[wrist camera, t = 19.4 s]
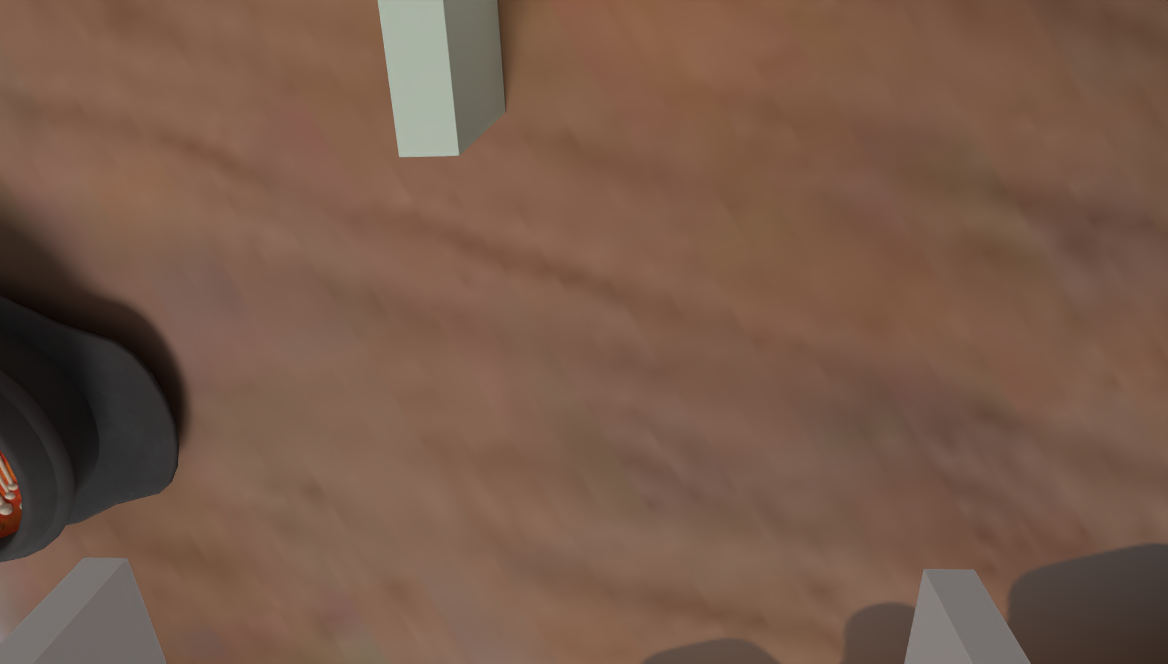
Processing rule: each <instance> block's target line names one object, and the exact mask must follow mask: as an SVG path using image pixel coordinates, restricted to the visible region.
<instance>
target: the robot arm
mask: <svg viewBox="0 0 1168 664" xmlns="http://www.w3.org/2000/svg"><path fill="white" fill-rule="evenodd" d="M0 664H167V663H166V660H165V658H164V655H163V652H162V650H161V647H160V644H159V642H158V639H157V636H156V634H155V631H154V629H153V626H152V623H151V621H150V618H149V615H148V613H147V610H146V607H145V605H144V602H143V599H142V597H141V594H140V591H139V589H138V586H137V583H136V581H135V578H134V575H133V573H132V570H131V567H130V565H129V562H128V559H127V558H83V559H82V560H81V561H80V562H79V563H78V564H77V565H76V566H75V567H74V568H73V569H72V570H71V571H70V572H69V574H68V575H67V576H66V577H65V578H64V579H63V580H62V581H61V582H60V583H59V584H58V585H57V586H56V587H55V588H54V589H53V590H52V591H51V592H50V593H49V594H48V595H47V596H46V597H45V598H44V599H43V600H42V601H41V602H40V603H39V604H38V605H37V606H36V607H35V609H34V610H33V611H32V612H31V613H30V614H29V615H28V616H27V617H26V618H25V619H24V620H23V621H22V622H21V623H20V624H19V625H18V626H17V627H16V628H15V629H14V630H13V631H12V632H11V633H10V634H9V635H8V636H7V637H6V638H5V639H4V640H3V641H2V643H1V644H0ZM904 664H1031V663H1030V662H1029V660H1028V659H1027V657H1026V655H1025V654H1024V652H1023V650H1022V649H1021V647H1020V645H1019V644H1018V642H1017V640H1016V639H1015V637H1014V635H1013V634H1012V632H1011V630H1010V629H1009V627H1008V625H1007V624H1006V622H1005V620H1004V619H1003V617H1002V615H1001V614H1000V612H999V610H998V609H997V607H996V605H995V604H994V602H993V600H992V599H991V597H990V595H989V594H988V592H987V590H986V589H985V587H984V585H983V584H982V582H981V580H980V579H979V577H978V575H977V574H976V572H975V570H955V569H924V571H923V576H922V581H921V586H920V591H919V595H918V600H917V605H916V610H915V615H914V619H913V624H912V629H911V634H910V639H909V644H908V649H907V653H906V658H905V663H904Z"/></svg>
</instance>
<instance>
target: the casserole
mask: <svg viewBox="0 0 1168 664" xmlns="http://www.w3.org/2000/svg"><path fill="white" fill-rule="evenodd" d="M178 455H179V441H178V434H177V428H176V422H175V419H174V416H173V414H172V411H171V408H170V406H169V403H168V400H167V398H166V396H165V394H164V393H163V391H162V389H161V387H160V386H159V384H158V382H157V381H156V379H155V377H154V376H153V374H152V373H151V372H150V370H149V369H148V368H147V367H146V366H145V365H144V363H143V362H142V361H141V360H140V359H139V358H138V356H137V355H136V354H134V353H133V352H131V351H130V350H129V349H127V348H126V347H124V346H123V345H121V344H120V343H119V342H117V341H116V340H113V339H110V338H107V337H103V336H100V335H97V334H94V333H91V332H87V331H84V330H81V329H78V328H75V327H71V326H68V325H65V324H62V323H59V322H56V321H54V320H52V319H50V318H48V317H46V316H44V315H42V314H40V313H37V312H35V311H33V310H31V309H29V308H27V307H25V306H23V305H20V304H18V303H16V302H14V301H12V300H10V299H8V298H5V297H3V296H1V295H0V562H4V561H9V560H14V559H18V558H23V557H27V556H29V555H31V554H33V553H35V552H37V551H39V550H41V549H44V548H45V547H46V546H47V545H49V544H50V543H51V542H52V541H53V540H55V539H56V538H57V537H58V536H59V535H60V534H61V532H62V530H63V529H64V527H65V526H66V525H70V524H74V523H79V522H81V521H83V520H85V519H88V518H90V517H92V516H94V515H96V514H98V513H100V512H102V511H104V510H106V509H108V508H110V507H112V506H114V505H116V504H119V503H123V502H127V501H131V500H135V499H139V498H143V497H146V496H150V495H154V494H158V493H160V492H161V491H162V490H164V489H165V488H166V487H167V486H168V485H169V484H170V483H171V482H172V480H173V477H174V475H175V472H176V469H177V467H178Z"/></svg>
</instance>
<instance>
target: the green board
mask: <svg viewBox="0 0 1168 664" xmlns="http://www.w3.org/2000/svg"><path fill="white" fill-rule="evenodd" d="M378 5H379V12H380V19H381V27H382V34H383V41H384V49H385V56H386V63H387V71H388V78H389V85H390V92H391V100H392V107H393V114H394V122H395V129H396V136H397V143H398V151H399V157H422V156H459V155H460V154H461V153H462V152H464V151H465V150H466V149H467V148H468V147H469V146H470V145H471V144H472V143H473V142H474V141H475V140H476V139H477V138H478V137H480V136H481V135H482V134H483V133H484V132H485V131H486V130H487V129H488V128H489V127H490V126H491V125H492V124H493V123H494V122H495V121H497V120H498V119H499V118H500V117H501V116H502V115H503V114H504V113H505V112H506V110H505V96H504V83H503V70H502V57H501V43H500V30H499V17H498V3H497V0H378Z"/></svg>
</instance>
